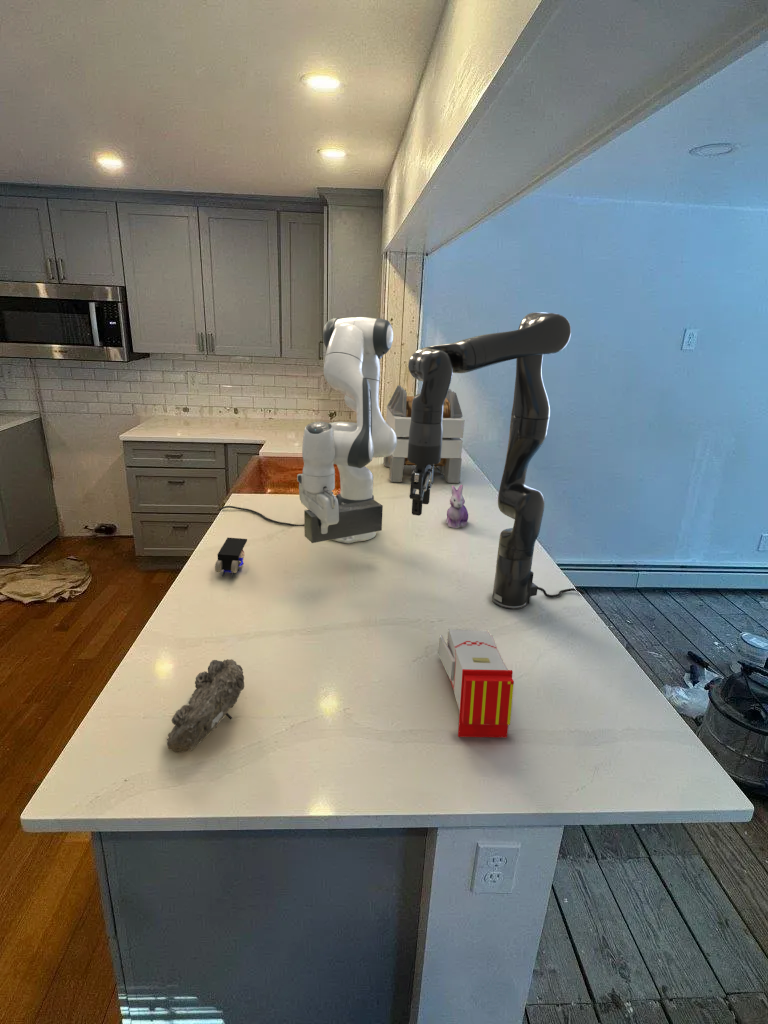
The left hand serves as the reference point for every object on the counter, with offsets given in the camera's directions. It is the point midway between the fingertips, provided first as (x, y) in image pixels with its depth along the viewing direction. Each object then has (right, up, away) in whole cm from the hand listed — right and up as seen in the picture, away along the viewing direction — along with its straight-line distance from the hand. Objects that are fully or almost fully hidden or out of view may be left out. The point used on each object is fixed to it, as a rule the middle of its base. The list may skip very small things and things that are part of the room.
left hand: (318, 528), depth 161 cm
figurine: (+46, 0, +50) cm, 68 cm away
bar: (+7, -2, +5) cm, 8 cm away
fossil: (-14, -34, -53) cm, 65 cm away
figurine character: (-26, -12, +7) cm, 30 cm away
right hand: (+27, +5, -28) cm, 39 cm away
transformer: (+36, +24, +114) cm, 122 cm away
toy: (+36, -33, -42) cm, 65 cm away
